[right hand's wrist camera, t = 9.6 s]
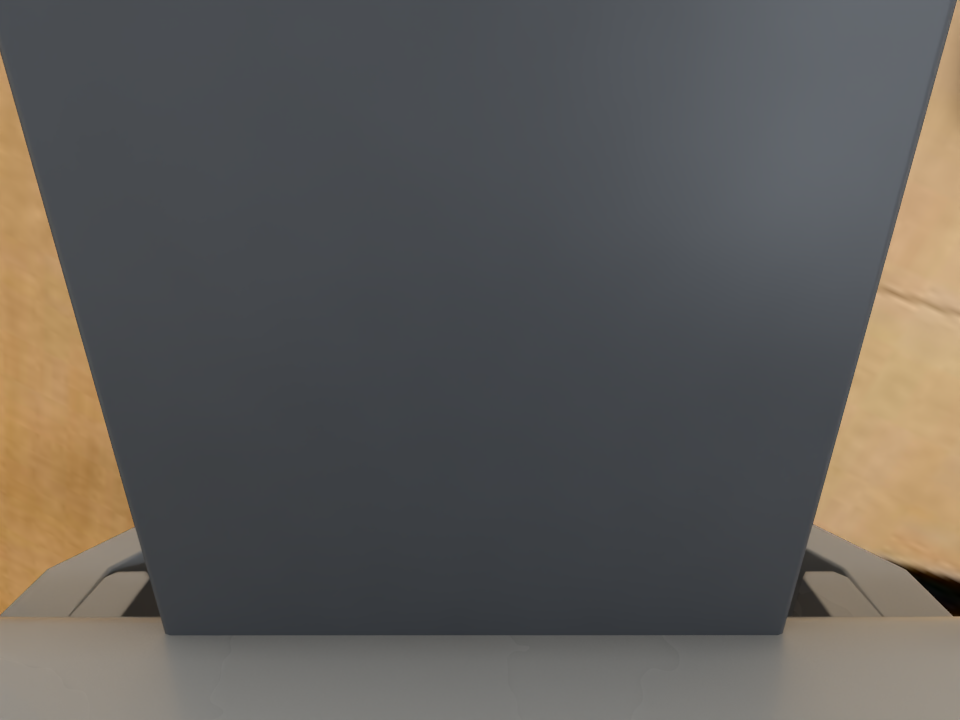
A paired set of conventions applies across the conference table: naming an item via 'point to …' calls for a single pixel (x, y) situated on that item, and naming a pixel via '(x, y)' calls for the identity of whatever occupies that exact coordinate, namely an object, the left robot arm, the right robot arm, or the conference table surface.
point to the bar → (472, 294)
